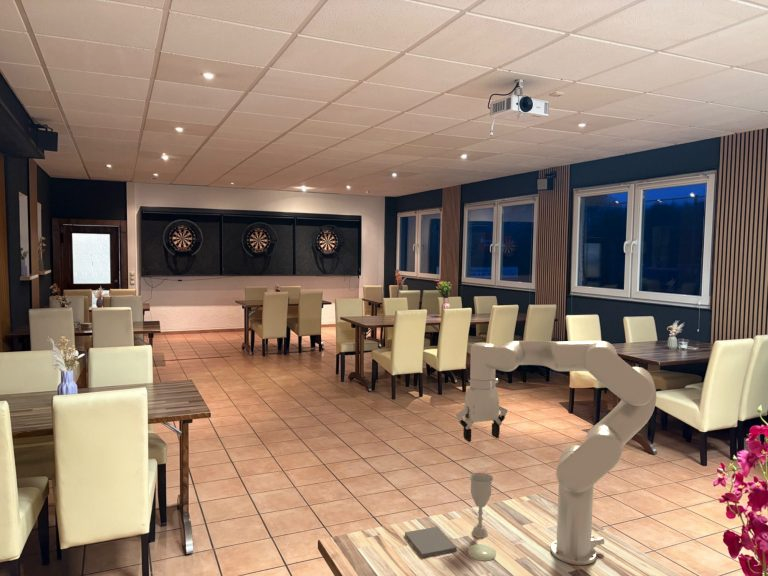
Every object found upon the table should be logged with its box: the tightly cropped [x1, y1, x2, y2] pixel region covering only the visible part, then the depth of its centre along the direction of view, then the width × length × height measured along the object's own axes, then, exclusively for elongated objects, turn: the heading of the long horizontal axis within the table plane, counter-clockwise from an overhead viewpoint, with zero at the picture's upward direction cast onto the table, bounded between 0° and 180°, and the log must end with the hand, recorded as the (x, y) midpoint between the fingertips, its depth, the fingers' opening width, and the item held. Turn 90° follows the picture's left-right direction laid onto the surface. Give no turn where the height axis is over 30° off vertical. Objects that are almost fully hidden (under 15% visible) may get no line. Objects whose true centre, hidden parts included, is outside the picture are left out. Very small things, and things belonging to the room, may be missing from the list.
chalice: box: [468, 472, 494, 539], centre depth 176 cm, size 7×7×18 cm
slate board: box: [404, 526, 457, 558], centre depth 170 cm, size 11×13×1 cm
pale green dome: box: [467, 544, 497, 562], centre depth 165 cm, size 8×8×1 cm
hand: (481, 438), depth 174 cm, fingers open, 9 cm apart
